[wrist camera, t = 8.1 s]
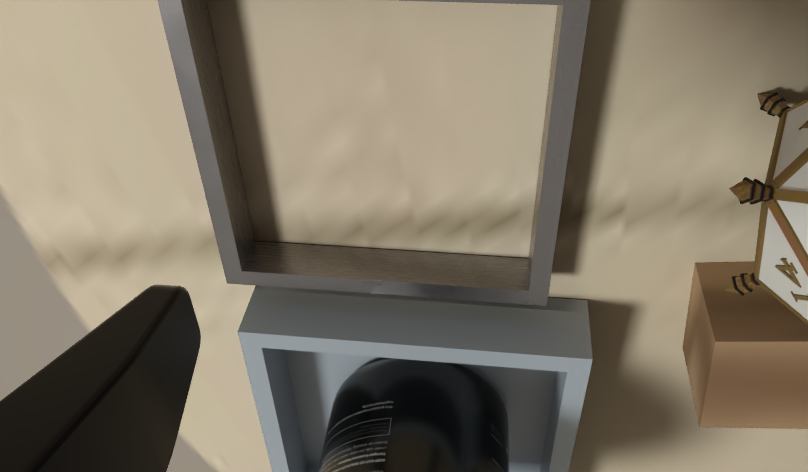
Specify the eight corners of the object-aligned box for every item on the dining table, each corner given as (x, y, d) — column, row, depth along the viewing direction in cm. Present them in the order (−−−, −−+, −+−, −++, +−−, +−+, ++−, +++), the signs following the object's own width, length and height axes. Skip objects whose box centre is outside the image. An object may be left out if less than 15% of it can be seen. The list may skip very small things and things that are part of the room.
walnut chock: (868, 343, 25) (909, 430, 22) (681, 343, 26) (699, 426, 23) (902, 254, 22) (953, 341, 20) (694, 258, 24) (715, 341, 21)
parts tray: (551, 484, 32) (553, 541, 30) (296, 460, 34) (282, 513, 32) (587, 300, 25) (592, 359, 23) (259, 277, 26) (237, 331, 24)
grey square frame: (545, 273, 24) (546, 305, 23) (240, 253, 26) (227, 283, 24) (589, -45, 18) (593, -21, 17) (172, -53, 19) (149, -31, 18)
